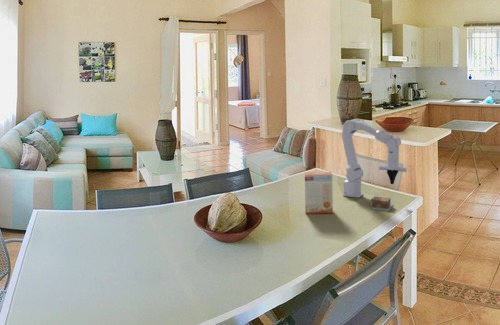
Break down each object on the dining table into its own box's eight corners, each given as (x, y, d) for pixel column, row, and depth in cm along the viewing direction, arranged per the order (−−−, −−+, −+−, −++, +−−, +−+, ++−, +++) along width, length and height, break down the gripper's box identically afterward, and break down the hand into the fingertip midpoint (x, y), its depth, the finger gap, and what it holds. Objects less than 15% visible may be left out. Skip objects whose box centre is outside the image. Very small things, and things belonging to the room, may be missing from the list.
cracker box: (331, 209, 228) (331, 171, 224) (332, 213, 222) (332, 174, 218) (304, 210, 230) (304, 171, 225) (305, 213, 224) (304, 174, 219)
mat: (370, 209, 227) (370, 208, 227) (376, 202, 237) (376, 202, 237) (388, 211, 222) (388, 210, 222) (393, 204, 232) (393, 204, 232)
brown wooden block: (371, 199, 229) (387, 201, 224) (374, 196, 234) (390, 198, 229) (371, 206, 230) (387, 208, 225) (374, 203, 235) (390, 205, 230)
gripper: (377, 159, 232) (376, 184, 235) (405, 161, 224) (404, 186, 227) (380, 157, 238) (380, 180, 241) (408, 158, 230) (407, 183, 233)
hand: (392, 183), depth 234 cm, fingers closed
